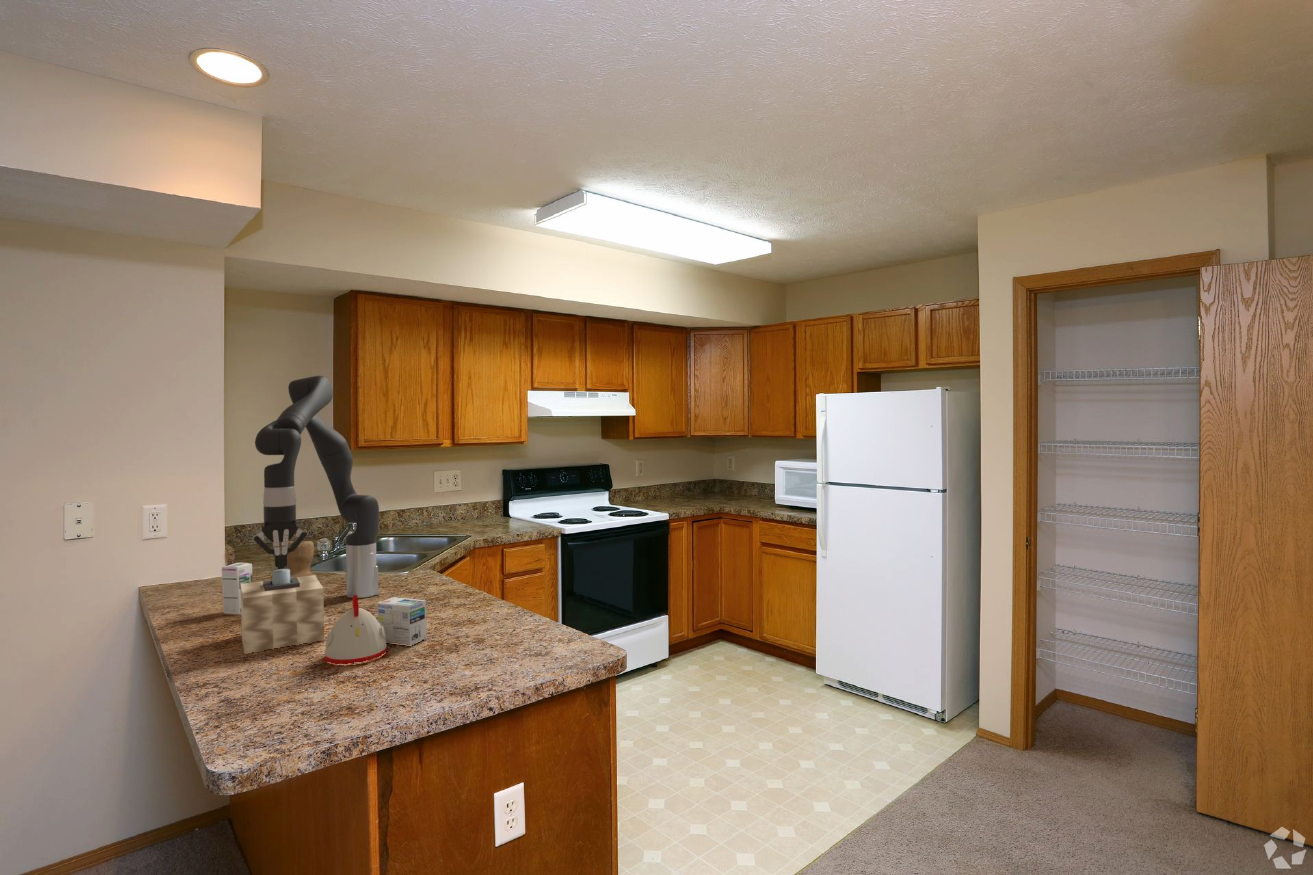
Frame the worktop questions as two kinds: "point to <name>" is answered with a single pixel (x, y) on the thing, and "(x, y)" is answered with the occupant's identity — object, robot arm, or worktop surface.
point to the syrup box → (234, 585)
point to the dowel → (280, 576)
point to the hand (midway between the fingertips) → (280, 568)
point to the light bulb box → (403, 620)
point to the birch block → (281, 615)
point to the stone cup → (300, 559)
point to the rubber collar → (292, 584)
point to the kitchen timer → (355, 637)
